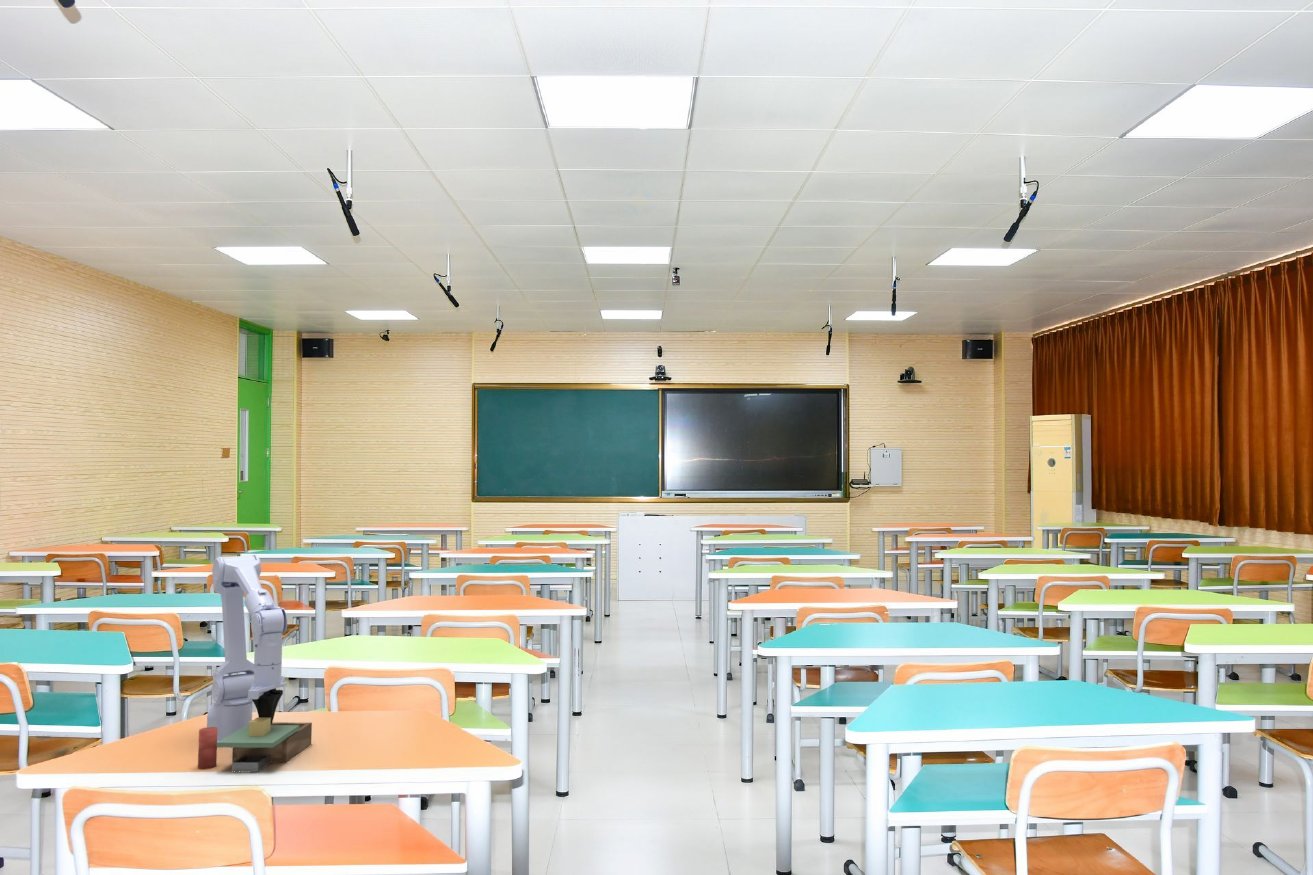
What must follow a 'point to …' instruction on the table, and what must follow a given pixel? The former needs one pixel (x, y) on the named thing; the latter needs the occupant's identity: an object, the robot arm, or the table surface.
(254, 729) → the lid
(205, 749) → the key peg
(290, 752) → the wooden box
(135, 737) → the table surface
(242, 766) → the key socket
